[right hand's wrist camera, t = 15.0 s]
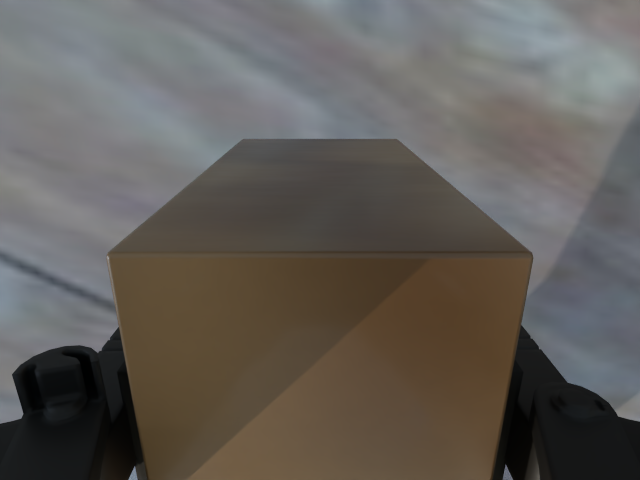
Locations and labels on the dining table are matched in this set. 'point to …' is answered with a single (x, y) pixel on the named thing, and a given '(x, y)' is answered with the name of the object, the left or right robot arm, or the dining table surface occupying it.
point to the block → (319, 319)
